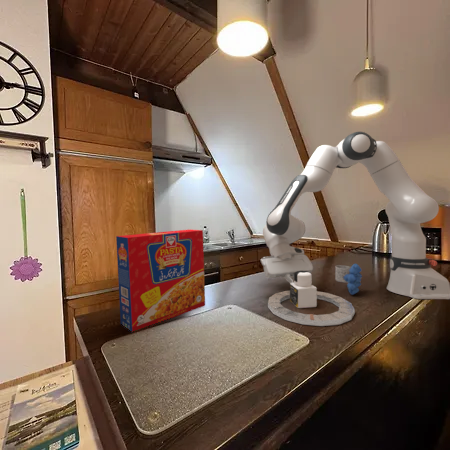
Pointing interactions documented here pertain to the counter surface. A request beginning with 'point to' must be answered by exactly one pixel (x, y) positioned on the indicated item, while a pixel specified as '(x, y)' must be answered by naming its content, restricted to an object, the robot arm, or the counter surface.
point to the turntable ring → (335, 318)
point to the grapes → (353, 279)
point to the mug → (341, 272)
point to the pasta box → (159, 276)
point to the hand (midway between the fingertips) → (295, 285)
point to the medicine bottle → (303, 290)
